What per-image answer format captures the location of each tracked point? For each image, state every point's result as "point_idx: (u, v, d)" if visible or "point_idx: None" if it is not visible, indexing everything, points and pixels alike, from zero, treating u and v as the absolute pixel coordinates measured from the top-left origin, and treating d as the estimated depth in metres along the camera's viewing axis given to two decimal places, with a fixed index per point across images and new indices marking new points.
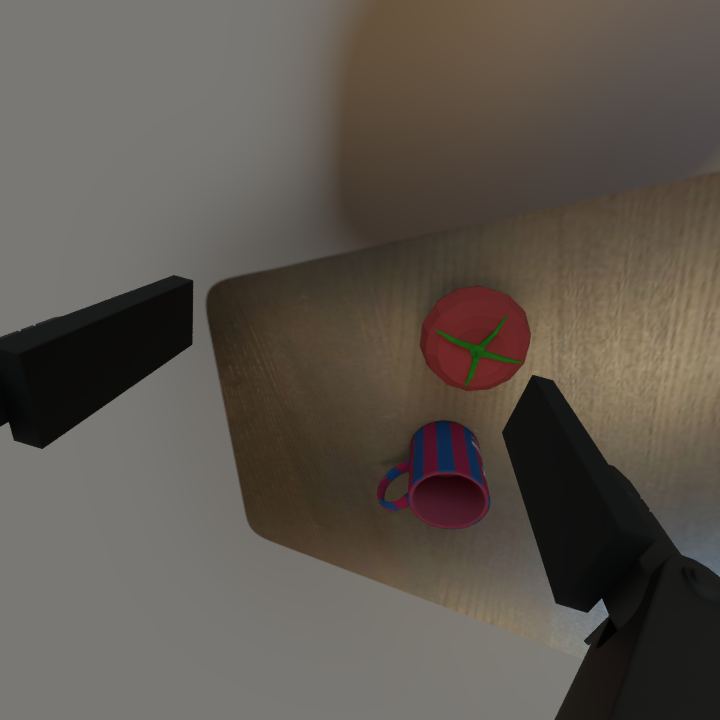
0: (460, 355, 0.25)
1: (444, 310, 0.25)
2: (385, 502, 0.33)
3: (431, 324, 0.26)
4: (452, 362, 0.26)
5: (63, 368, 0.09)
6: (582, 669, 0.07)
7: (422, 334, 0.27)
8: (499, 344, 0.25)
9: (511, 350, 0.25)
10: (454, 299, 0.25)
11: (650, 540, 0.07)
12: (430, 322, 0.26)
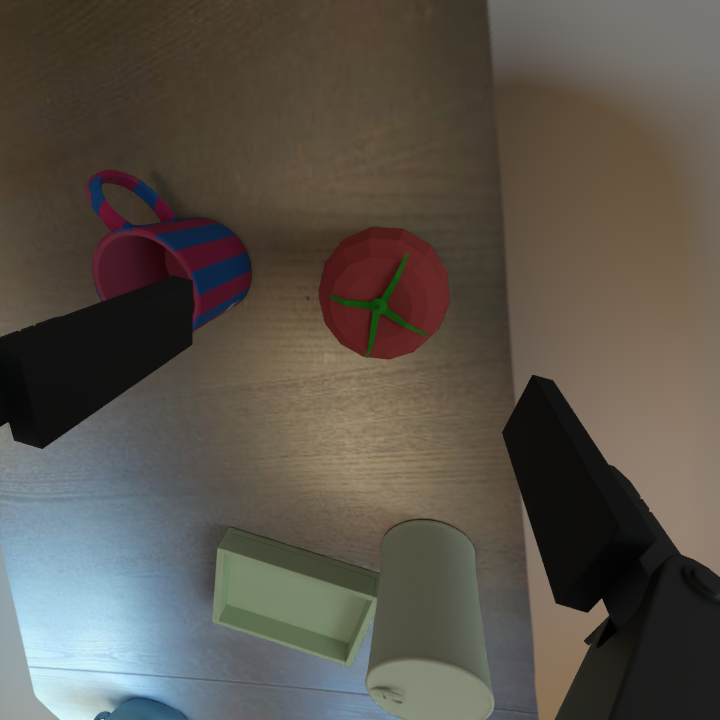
0: (373, 286, 0.20)
1: (429, 260, 0.19)
2: (99, 187, 0.20)
3: (409, 243, 0.19)
4: (362, 277, 0.19)
5: (63, 367, 0.09)
6: (582, 669, 0.07)
7: (389, 230, 0.20)
8: (390, 331, 0.20)
9: (383, 344, 0.21)
10: (440, 269, 0.20)
11: (650, 540, 0.07)
12: (410, 241, 0.19)
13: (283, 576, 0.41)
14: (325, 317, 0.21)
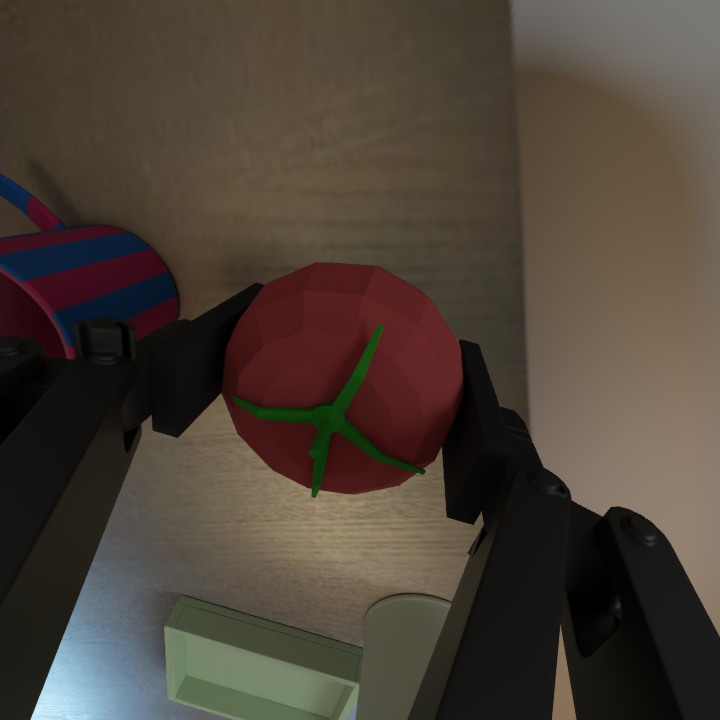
0: (314, 385, 0.10)
1: (427, 332, 0.10)
2: None
3: (386, 299, 0.10)
4: (291, 369, 0.09)
5: (196, 367, 0.10)
6: (463, 576, 0.08)
7: (348, 270, 0.10)
8: (352, 461, 0.11)
9: (340, 482, 0.11)
10: (447, 346, 0.10)
11: (510, 453, 0.09)
12: (388, 293, 0.10)
13: None
14: (235, 426, 0.12)
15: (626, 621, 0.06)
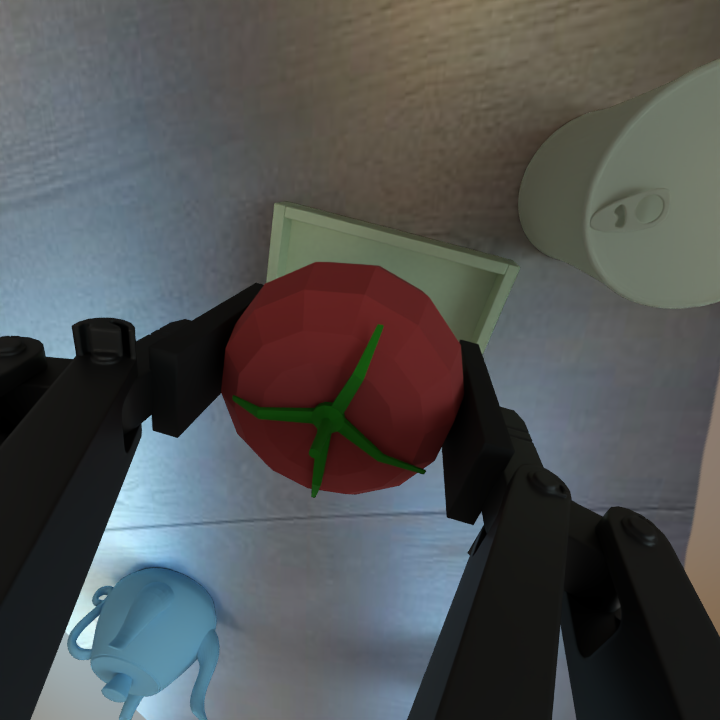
0: (314, 384, 0.10)
1: (427, 332, 0.10)
2: None
3: (386, 298, 0.10)
4: (290, 369, 0.09)
5: (196, 367, 0.10)
6: (463, 576, 0.08)
7: (348, 269, 0.10)
8: (352, 461, 0.11)
9: (340, 482, 0.11)
10: (448, 345, 0.10)
11: (509, 453, 0.09)
12: (388, 293, 0.10)
13: None
14: (235, 426, 0.12)
15: (626, 621, 0.06)
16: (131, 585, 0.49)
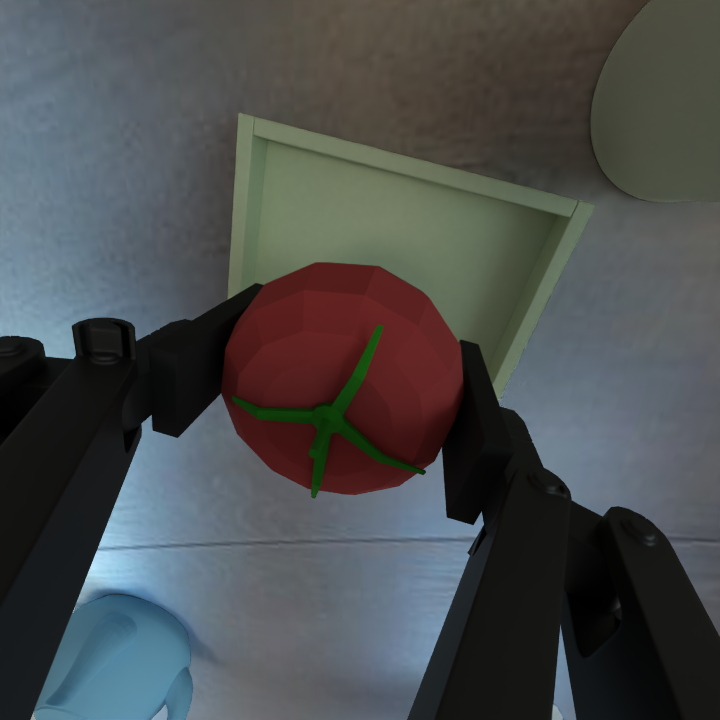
0: (314, 385, 0.10)
1: (428, 332, 0.10)
2: None
3: (386, 298, 0.10)
4: (290, 369, 0.09)
5: (196, 367, 0.10)
6: (463, 576, 0.08)
7: (348, 270, 0.10)
8: (352, 462, 0.11)
9: (340, 483, 0.11)
10: (448, 346, 0.10)
11: (509, 453, 0.09)
12: (388, 293, 0.10)
13: (362, 241, 0.21)
14: (235, 426, 0.12)
15: (626, 621, 0.06)
16: (87, 618, 0.41)
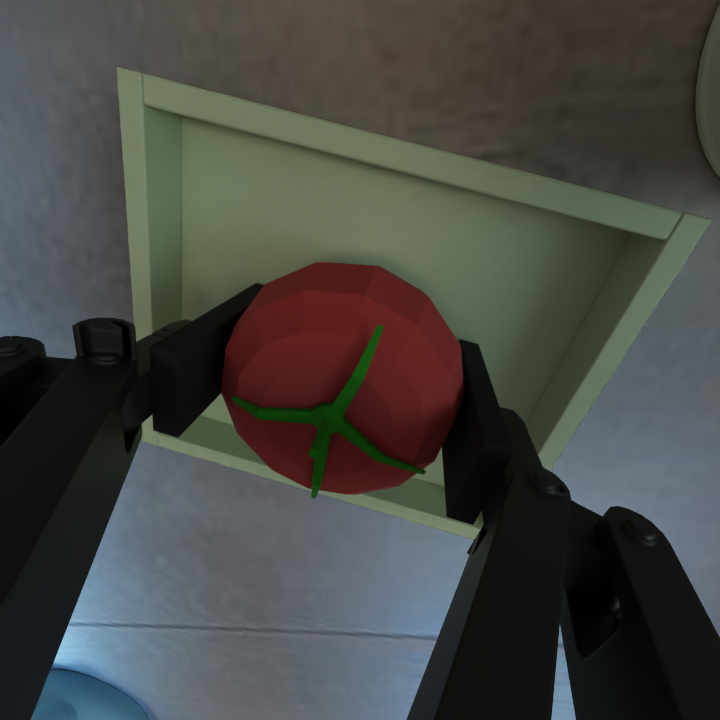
0: (314, 385, 0.10)
1: (428, 332, 0.10)
2: None
3: (386, 298, 0.10)
4: (290, 369, 0.09)
5: (197, 367, 0.10)
6: (462, 576, 0.08)
7: (348, 270, 0.10)
8: (352, 462, 0.11)
9: (340, 483, 0.11)
10: (448, 346, 0.10)
11: (509, 453, 0.09)
12: (388, 294, 0.10)
13: None
14: (235, 426, 0.12)
15: (625, 620, 0.06)
16: None
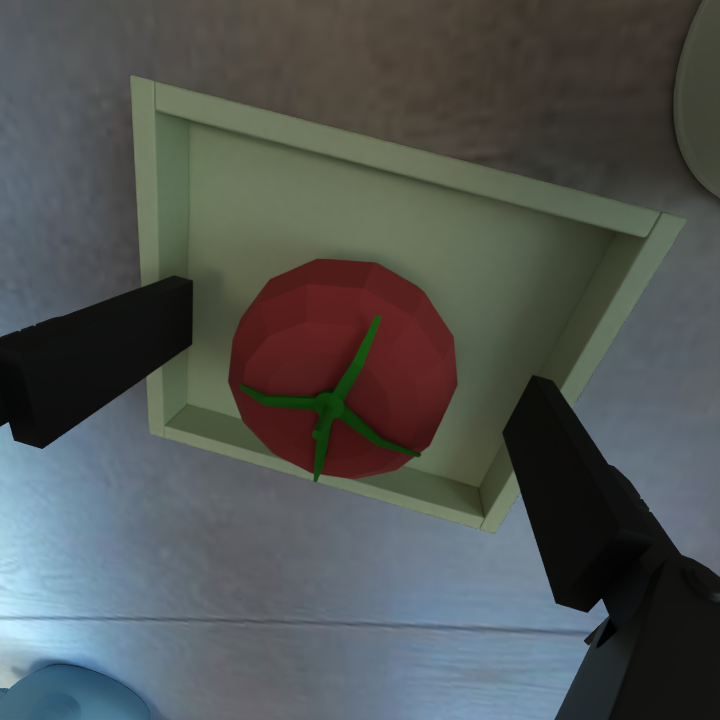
0: (317, 373, 0.10)
1: (422, 323, 0.10)
2: None
3: (383, 291, 0.10)
4: (294, 358, 0.10)
5: (63, 368, 0.09)
6: (582, 669, 0.07)
7: (348, 265, 0.11)
8: (352, 446, 0.11)
9: (340, 466, 0.12)
10: (441, 337, 0.11)
11: (650, 540, 0.07)
12: (385, 287, 0.10)
13: None
14: (241, 414, 0.12)
15: None
16: (22, 700, 0.35)
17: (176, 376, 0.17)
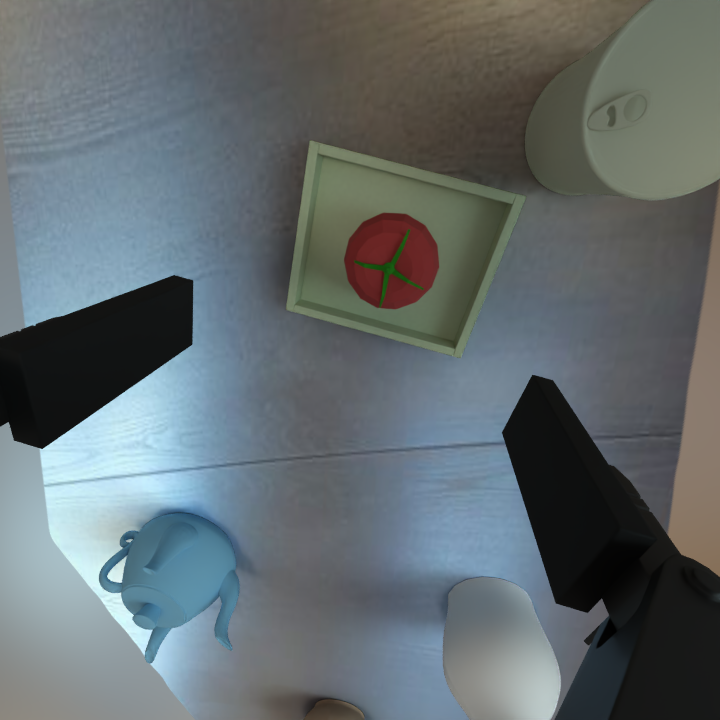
0: (385, 254, 0.28)
1: (424, 235, 0.28)
2: None
3: (410, 223, 0.28)
4: (377, 247, 0.27)
5: (63, 368, 0.09)
6: (582, 669, 0.07)
7: (396, 214, 0.28)
8: (396, 286, 0.29)
9: (391, 296, 0.29)
10: (432, 242, 0.28)
11: (650, 540, 0.07)
12: (411, 221, 0.28)
13: None
14: (349, 278, 0.30)
15: None
16: (158, 526, 0.52)
17: (301, 279, 0.35)
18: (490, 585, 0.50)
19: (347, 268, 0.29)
